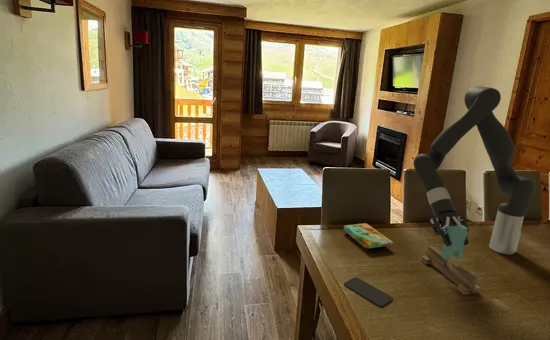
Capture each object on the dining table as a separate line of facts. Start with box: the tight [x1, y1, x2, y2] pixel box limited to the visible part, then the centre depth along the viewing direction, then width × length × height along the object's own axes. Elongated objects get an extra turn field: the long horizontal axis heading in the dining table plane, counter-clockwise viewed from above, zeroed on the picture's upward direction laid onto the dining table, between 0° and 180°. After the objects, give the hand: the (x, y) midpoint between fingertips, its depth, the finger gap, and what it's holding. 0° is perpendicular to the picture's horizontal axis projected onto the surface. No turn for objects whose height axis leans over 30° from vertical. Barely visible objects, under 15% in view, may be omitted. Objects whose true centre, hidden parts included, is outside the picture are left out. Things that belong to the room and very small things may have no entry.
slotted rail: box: [420, 245, 481, 296], centre depth 119 cm, size 6×22×6 cm, turn 14°
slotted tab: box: [441, 225, 468, 261], centre depth 117 cm, size 6×2×12 cm, turn 103°
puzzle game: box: [343, 222, 394, 249], centre depth 143 cm, size 12×5×20 cm
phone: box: [343, 277, 394, 308], centre depth 108 cm, size 7×1×15 cm
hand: (457, 245), depth 115 cm, fingers closed on slotted tab, 6 cm apart
